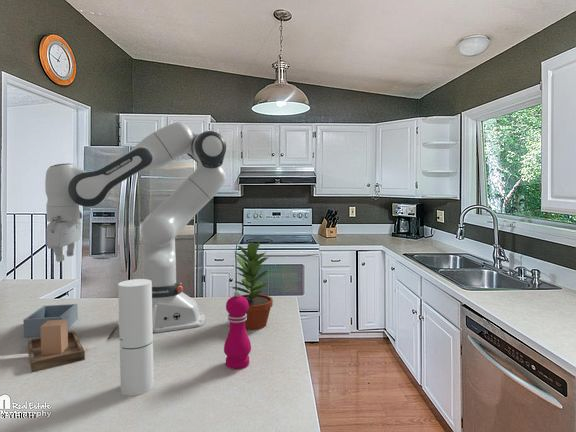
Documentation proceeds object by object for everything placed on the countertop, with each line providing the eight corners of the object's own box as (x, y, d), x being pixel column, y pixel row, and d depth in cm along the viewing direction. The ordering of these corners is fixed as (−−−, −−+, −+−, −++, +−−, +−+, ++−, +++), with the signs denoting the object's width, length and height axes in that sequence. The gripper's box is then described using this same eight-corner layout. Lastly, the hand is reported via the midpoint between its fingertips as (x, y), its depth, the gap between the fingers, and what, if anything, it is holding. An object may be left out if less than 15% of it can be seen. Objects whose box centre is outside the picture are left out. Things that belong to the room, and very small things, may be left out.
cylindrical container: (145, 376, 91) (143, 277, 90) (158, 387, 86) (156, 282, 85) (116, 387, 86) (113, 282, 85) (127, 399, 81) (125, 288, 80)
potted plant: (262, 314, 138) (262, 235, 136) (279, 328, 125) (279, 240, 123) (223, 320, 132) (223, 237, 130) (237, 335, 118) (237, 243, 116)
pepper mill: (239, 373, 93) (239, 295, 92) (218, 366, 97) (217, 291, 96) (256, 362, 100) (256, 289, 98) (235, 355, 103) (235, 285, 102)
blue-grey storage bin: (78, 321, 130) (77, 303, 130) (62, 337, 116) (61, 317, 116) (44, 324, 128) (43, 305, 128) (24, 340, 114) (23, 319, 113)
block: (68, 346, 107) (67, 319, 107) (61, 353, 102) (60, 325, 102) (49, 347, 106) (48, 320, 106) (41, 355, 101) (40, 326, 101)
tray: (28, 348, 108) (27, 340, 108) (75, 338, 115) (74, 331, 115) (31, 372, 93) (31, 362, 93) (84, 359, 101) (84, 350, 101)
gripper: (63, 217, 107) (65, 264, 108) (83, 213, 127) (85, 253, 128) (38, 217, 105) (41, 265, 106) (63, 213, 125) (65, 253, 126)
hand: (65, 258), depth 117 cm, fingers open, 8 cm apart
